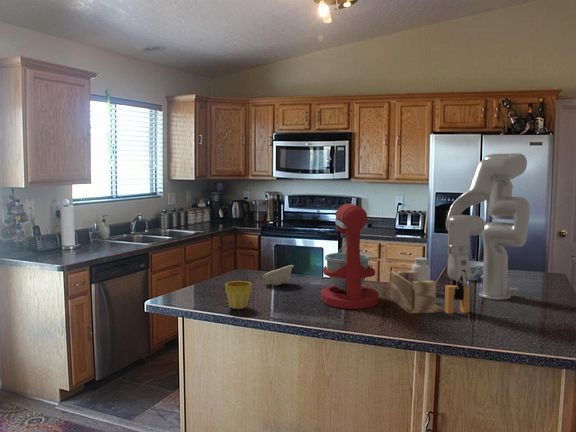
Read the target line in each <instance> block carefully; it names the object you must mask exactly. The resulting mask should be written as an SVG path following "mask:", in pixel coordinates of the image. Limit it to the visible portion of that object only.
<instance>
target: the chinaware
mask: <svg viewBox="0 0 576 432" xmlns="http://www.w3.org/2000/svg"><path fill="white" fill-rule="evenodd" d="M483 262H484V261H476V260H469V266H470V280H469V281H478V280H479V278H480V277H483Z"/></svg>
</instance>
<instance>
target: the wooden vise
mask: <svg viewBox="0 0 576 432" xmlns="http://www.w3.org/2000/svg"><path fill="white" fill-rule="evenodd" d="M436 288H437V282H436V281H435V280H433V279H432V280H431V279H430V281H419V280H418V272H417V271H412V270H401V271H400V270H399V271H398V270H397V271H396V272H395V271H393V270H391V271H390V295H389V296H390V299H391V300H392V301H393V302H394V303H396V304H397V305H398V306H399V307H400V308H401V309H403V310H404V311H405V312H406V313H408V314H425V313H426V314H427V313H443V307H441V306H440V305H438V304H437V303H436V291H437V289H436Z"/></svg>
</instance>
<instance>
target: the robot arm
mask: <svg viewBox="0 0 576 432" xmlns="http://www.w3.org/2000/svg"><path fill="white" fill-rule="evenodd" d="M527 167H528V160H527V157H526V155H524V154H523V153H520V152H518V153H491V154H488V155H485V156H484V157H483V158H482V160H480V161H478V163H477V164H476V166H475V169H474V173H473V175H472V179H471V181H470V184H469V187H468V189H467V190H466V191H465V192H464V193H463V194H461V195H460V196H458V198H456V200H454V201H453V203H452V204H451V206H450V207H449V211H448V213H447V217H446V219H445V229H446V231H447V254H448V257H447V266H446V267H447V273H446V274H447V276H448V278H449V281H450V284H449V285H456V289H455V295H454V300H456V301H457V300H459V301H460V300H463V299H464V286H465V285H467V284H468V283H467V282H469V281H471V280H470V266H469V261H470V257H469V255H470V254H469V253H470V252H469V251H470V248H469V247H470V236H479V235H480V234H481V238H482V243H483V245H482V246H483V261H482V262H483V275H482V290H480V291H479V292H478V296H479V297H481V298H483V299H488V300H497V301H499V300H501V301H502V300H509V299H511V293H519V288H518V287H512V286H509V285H508V267H509V264H508V263H509V254H508V252H507V250H506V248H505V247H513V248H515V247H516V248H521V247H523V246H525V244H526V243H527V238H528V230H529V221H530V214H531V213H530V212H531V211H530V203H529V201H528V199H526V198H525V197H520V196H513V188H514V187H513V183H512V181H511V180H513V179H516V178H517V177H519V176H521V175H522V174H524V172H525V171H526V169H527ZM487 200H489V201H488V202H489V203H488V216H490V218H493V219H496V220H507V221H508V220H509V221H510V220H511V221H514V222H503V221H502V222H501V221H491V222H487V223H485V221H484V219H483V218H482V217H481V216H478V215H468V214H463V212H464V211H465V210H466V209H468V208H470V207H472V206H474V205H477V204H481V203H482V202H485V201H487Z"/></svg>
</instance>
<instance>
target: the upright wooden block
mask: <svg viewBox="0 0 576 432" xmlns="http://www.w3.org/2000/svg"><path fill="white" fill-rule="evenodd" d="M444 287H445V288H444V289H445V292H444V313H447V314H448V315H449V314H454V305H455V304H454V302H455V301H454V300H455V297H454V295H455V289H456V285H450V284H449V285H448V284H447V285H446V284H445V285H444ZM459 311H460V312H461V313H463V314H469V313H470V312H469V311H470V286H469V285H467V284H466V285H465V286H464V299H463V300H459Z"/></svg>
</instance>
